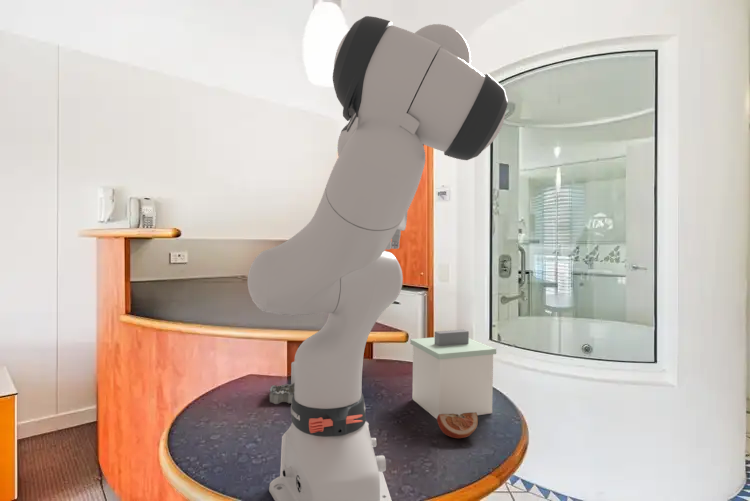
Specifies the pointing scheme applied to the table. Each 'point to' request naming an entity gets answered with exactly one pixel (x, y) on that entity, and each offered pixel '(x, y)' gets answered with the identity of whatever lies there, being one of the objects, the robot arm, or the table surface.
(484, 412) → the box
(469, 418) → the fruit slice
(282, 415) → the table surface
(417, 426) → the table surface
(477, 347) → the lid
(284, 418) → the table surface
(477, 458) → the table surface
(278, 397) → the egg carton
